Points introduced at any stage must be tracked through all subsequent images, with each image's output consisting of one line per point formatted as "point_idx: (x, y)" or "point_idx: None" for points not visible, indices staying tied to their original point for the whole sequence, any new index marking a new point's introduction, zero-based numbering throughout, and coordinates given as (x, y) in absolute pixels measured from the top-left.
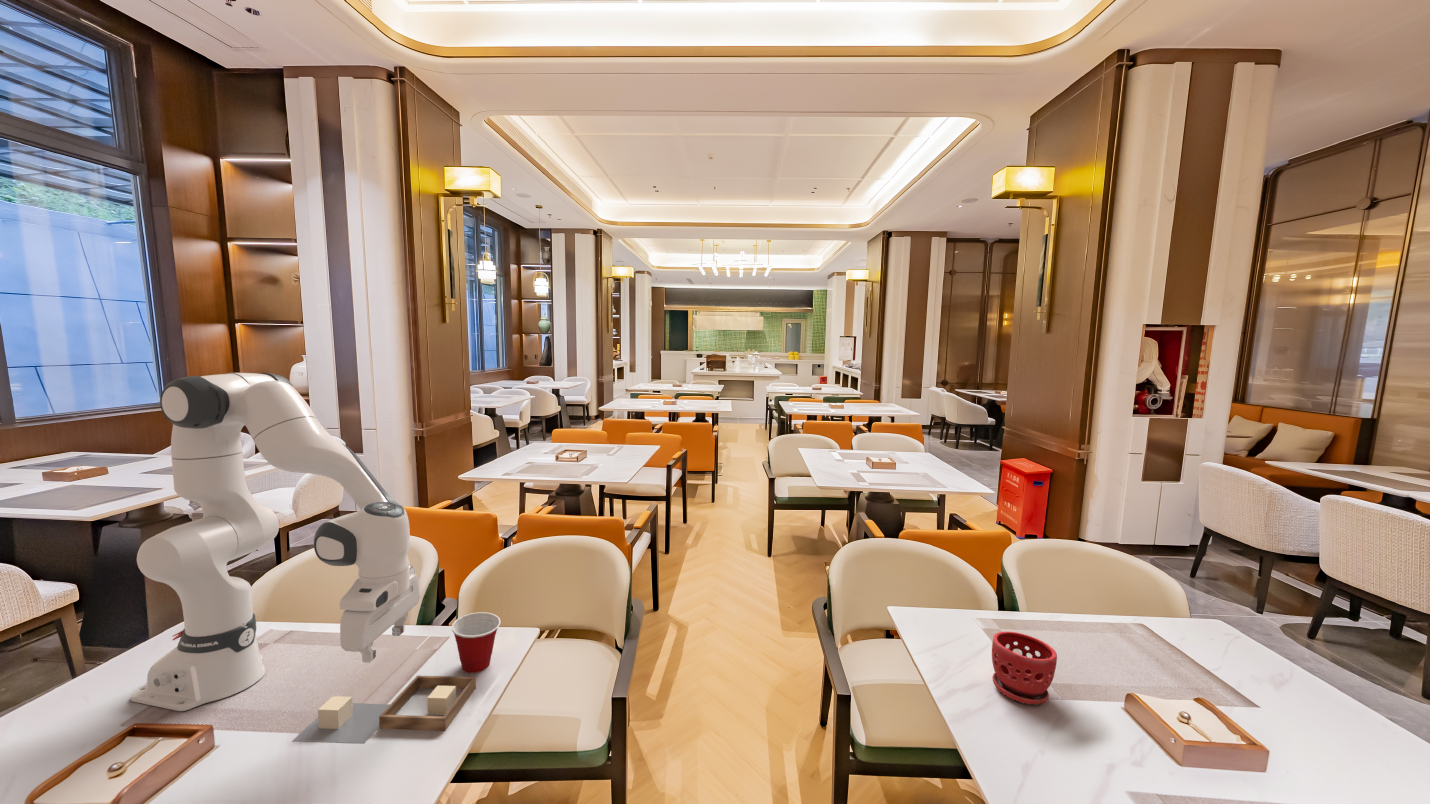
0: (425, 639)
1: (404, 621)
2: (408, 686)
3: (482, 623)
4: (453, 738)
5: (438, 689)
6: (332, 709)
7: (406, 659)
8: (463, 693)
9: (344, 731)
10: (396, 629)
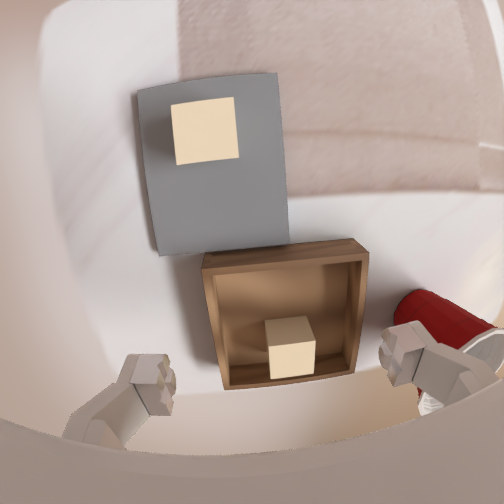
0: (500, 145)
1: (430, 394)
2: (324, 260)
3: (487, 346)
4: (221, 379)
5: (300, 350)
6: (177, 145)
7: (450, 140)
8: (301, 381)
9: (181, 182)
10: (397, 363)
